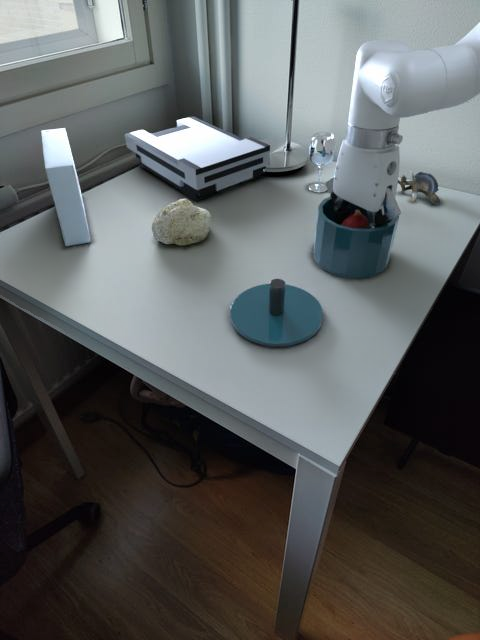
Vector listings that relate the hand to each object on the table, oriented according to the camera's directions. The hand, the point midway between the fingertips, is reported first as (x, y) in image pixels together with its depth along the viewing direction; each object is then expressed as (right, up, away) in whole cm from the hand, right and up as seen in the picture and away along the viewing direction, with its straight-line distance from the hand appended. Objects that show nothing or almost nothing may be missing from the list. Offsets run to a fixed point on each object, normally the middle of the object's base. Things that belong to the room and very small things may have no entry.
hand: (354, 235), depth 83 cm
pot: (0, -3, +3) cm, 5 cm away
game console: (-32, +23, +34) cm, 51 cm away
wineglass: (-2, +16, +25) cm, 30 cm away
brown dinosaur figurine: (+19, +12, +20) cm, 30 cm away
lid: (-15, -14, -10) cm, 23 cm away
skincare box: (-56, +6, +16) cm, 58 cm away
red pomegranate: (0, -2, +2) cm, 3 cm away
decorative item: (-32, +1, +10) cm, 33 cm away
